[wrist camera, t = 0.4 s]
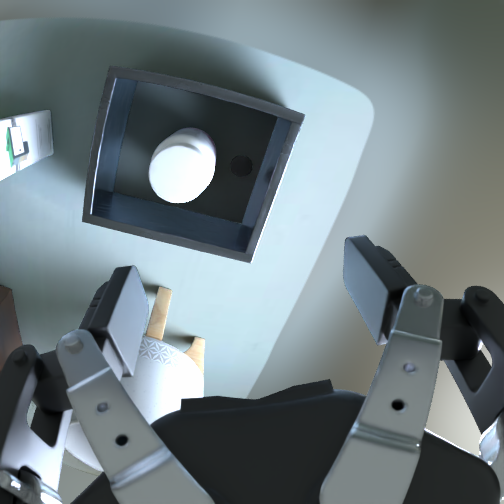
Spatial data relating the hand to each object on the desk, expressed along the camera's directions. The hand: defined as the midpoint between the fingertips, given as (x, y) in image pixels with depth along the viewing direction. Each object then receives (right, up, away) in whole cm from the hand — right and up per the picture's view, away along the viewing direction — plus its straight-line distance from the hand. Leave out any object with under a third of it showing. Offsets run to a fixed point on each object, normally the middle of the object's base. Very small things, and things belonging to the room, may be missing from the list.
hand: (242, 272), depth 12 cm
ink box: (-23, +13, +12) cm, 29 cm away
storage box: (-5, +10, +15) cm, 19 cm away
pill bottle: (-5, +10, +15) cm, 19 cm away
